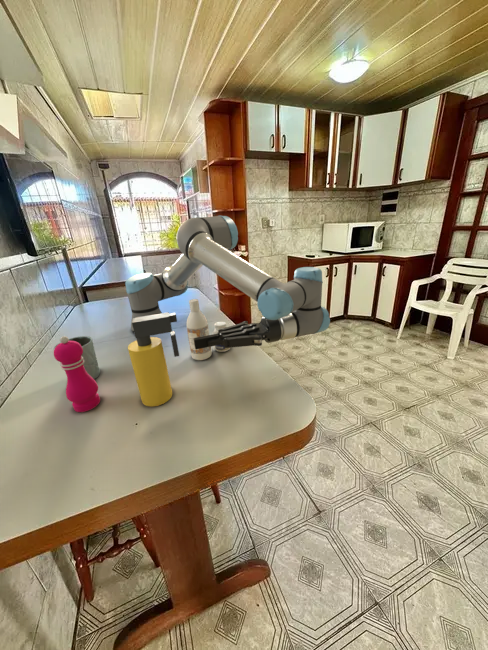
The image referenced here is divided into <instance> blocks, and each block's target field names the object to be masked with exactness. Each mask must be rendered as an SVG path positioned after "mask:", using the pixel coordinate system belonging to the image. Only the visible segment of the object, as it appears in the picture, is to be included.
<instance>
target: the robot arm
mask: <svg viewBox="0 0 488 650" xmlns="http://www.w3.org/2000/svg"><path fill="white" fill-rule="evenodd" d="M238 236H239V232H238V227H237V225H236V223H235V221H234V220H233V219H232V218H231V217H229V216H227V215H215V216H201V217H200V216H199V217H191V218H188V219H186V220H184V221H183V222H182V223H181V224H180V225H179V227H178V230H177V233H176V244H177V247H178V249H179V251H180V253H181V255H180V256H179V257H178V258H177V260H176V261H175V262H174V263H173V264H172V265H169V266H167V267H165V268H164V269H163V271H162V272H160V273H158V274H157V273H156V274H152V273H151V272H144V273H138V274H135V275H133V276H131V277H129V278H127V279H126V281H125V282H124V284H125V292H126V294H127V299H128V303H129V306H130V310H131V319H130V320H131V321H130V329H131V332H132V333H134V330H133V326H132V320H133V318H136V317H142V316H148V315H155V314H161V313H163V312H162V311H161V309H160V304H159V302H160V301H164V300H167V299H171V298H174V297H179V296H182V295H183V294H184V293H186V292H187V290H188V288H189V279H191V278H192V276H194V275H195V273H197V272H198V271H199V270H200V269H201V268H202V267H203V266H204V267H206V269H208V270H210V272H213V273H214V274H216V275H217V276H219V277H220V278H222V279H223V280H224V281H226V282H228V283H229V284H230V285H232V286H233V287H235V288H236V289H238V290H239V291H240V292H242V293H243V294H245V295H246V296H248V297H249V298H251V299H253V300H254V301H255V302H256V305H257V309H258V311H259V312H260V314H261V316H262V317H261V319H260V321H259V322H252V323H249V322H248V320H244V321H242V322H239V323H236V324H233V325H229V326H226V328H222V329H219V330H218V334H214V333H213V334H209V335H207V336H202V337H197V338H194V345H195V349H201V348H206V347H211V348H212V347H215V346H216V345H221V346H224V347H225V348H230V349H231V348H242V347H253V346H255V347H256V346H257V347H262V346H263V341H264V342H265V343H267V344H270V343H275V342H279V341H285V340H291V339H294V338H298V337H303V336H308V335H315V334H318V333H322V332H324V331H326V330H327V329H328V328H329V327H330V324H331V318H330V312H329V311H328V309H326V307H324V306H322V295H323V271H322V269H321V268H319V267H315V266H303V267H298V268H296V269H295V270H294V275H293V279H292V280H289V281H287V282H282V281H280V280H278V279H277V278H275V277H273V276H272V275H270V274H268V273H266V272H265V271H263V270H262V269H260V268H258V267H256V266H255V265H254V264H252V263H250V262H248V261H247V260H246V259H244V258H242V257H240V256H239V255H237V254H236V253H234V252H232V251H231V250H232V249H234V248H235V247H236V246H237V244H238V241H239V237H238Z"/></svg>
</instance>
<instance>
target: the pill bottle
mask: <svg viewBox="0 0 488 650" xmlns="http://www.w3.org/2000/svg"><path fill="white" fill-rule="evenodd" d="M226 327H227V322H225V321H217V322H215V323H214V329H213V334H218V330H219V329H222V328H226ZM214 348H215V350H216V352H219V353H224V352H228V351H229V350H231V348H225V347H224V346H221V345H216V346H214Z"/></svg>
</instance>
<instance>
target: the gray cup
mask: <svg viewBox="0 0 488 650" xmlns="http://www.w3.org/2000/svg"><path fill="white" fill-rule="evenodd" d="M68 339H69V341H76V342H78V343H79V344H80V345H81V346H82V348H83V353H82V355H81V356H82V357H83V360H84V364H83V365H84V368H85V370H86V372H87V373H88V374H89V375H90V376H91V377H92V378H93V379H94V380H96V378H98V377H99V376H100V374H101V370H100V367H99V363H98V359H97V354H96V350H95V345H94V340H93V338H92V337H91V336H90V335H89V336H88V335H79V336H75V337H71V338H68ZM60 343H61V342H60V341H59V343H57V344H56V345H54V346H53V350H54V349H55V347H56V346H57V345H58V344H60ZM60 363H61V362H59V364H60ZM63 371H64V372H65V370H63Z"/></svg>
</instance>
